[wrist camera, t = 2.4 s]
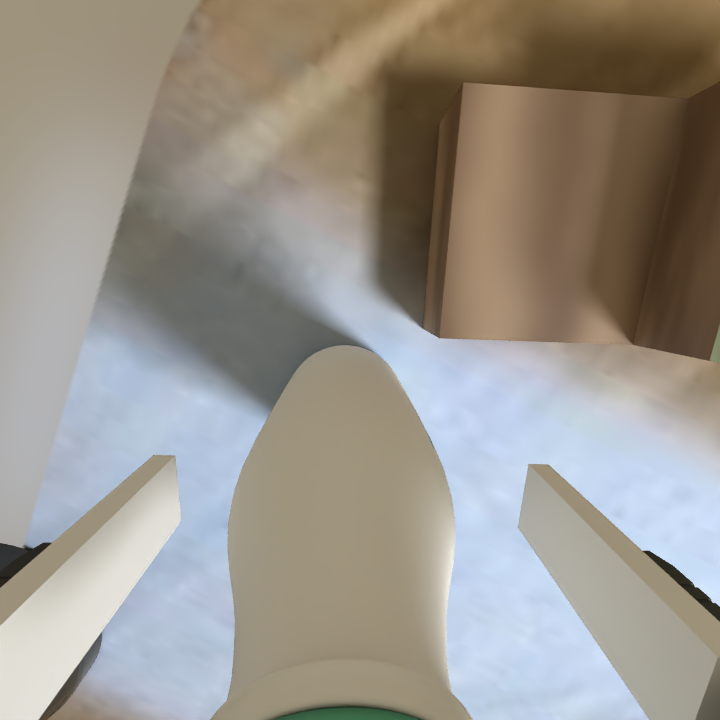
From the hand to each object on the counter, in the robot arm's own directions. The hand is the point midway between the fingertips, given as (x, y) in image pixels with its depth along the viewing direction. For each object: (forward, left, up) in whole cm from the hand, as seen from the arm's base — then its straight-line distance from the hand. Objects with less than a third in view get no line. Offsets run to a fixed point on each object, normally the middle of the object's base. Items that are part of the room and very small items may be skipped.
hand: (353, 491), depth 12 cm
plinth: (+16, +11, -11) cm, 22 cm away
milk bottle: (0, 0, -11) cm, 11 cm away
